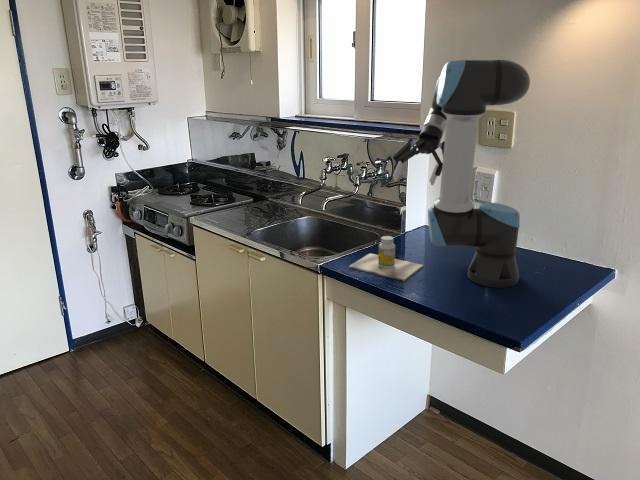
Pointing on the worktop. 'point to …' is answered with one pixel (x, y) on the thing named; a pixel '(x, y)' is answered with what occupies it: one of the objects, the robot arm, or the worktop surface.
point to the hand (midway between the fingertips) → (412, 180)
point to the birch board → (398, 271)
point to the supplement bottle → (386, 252)
